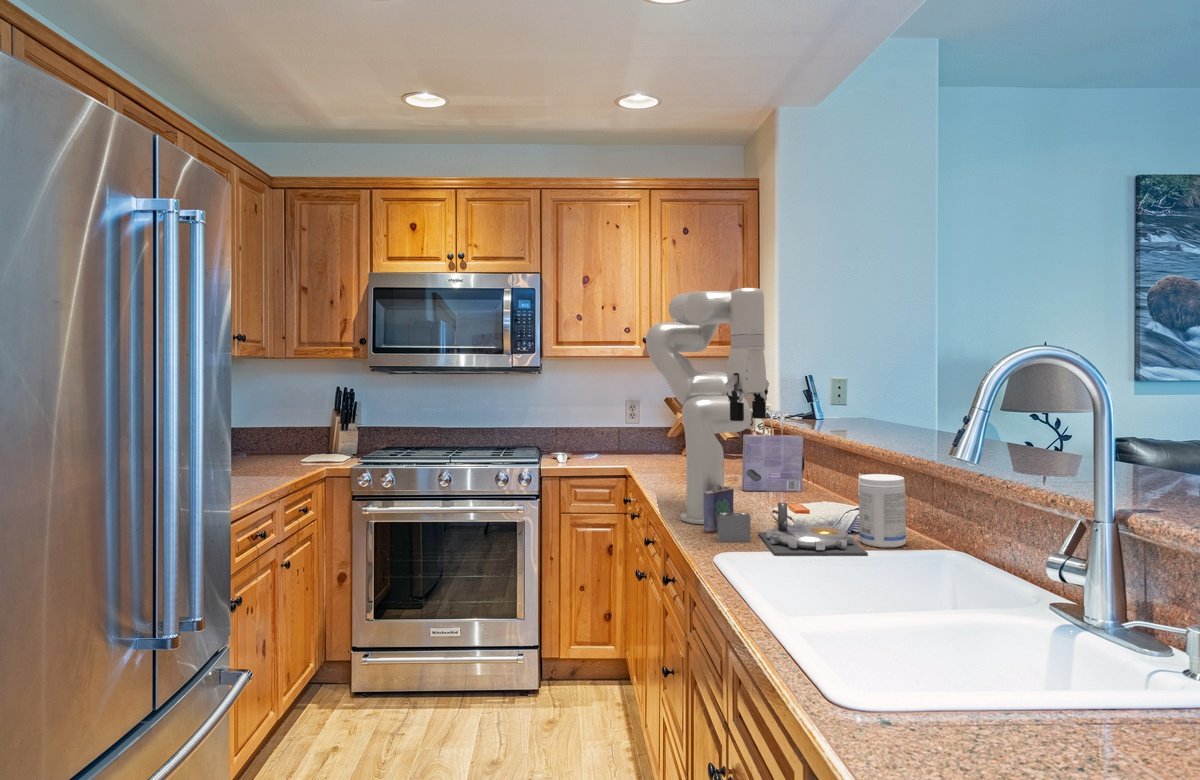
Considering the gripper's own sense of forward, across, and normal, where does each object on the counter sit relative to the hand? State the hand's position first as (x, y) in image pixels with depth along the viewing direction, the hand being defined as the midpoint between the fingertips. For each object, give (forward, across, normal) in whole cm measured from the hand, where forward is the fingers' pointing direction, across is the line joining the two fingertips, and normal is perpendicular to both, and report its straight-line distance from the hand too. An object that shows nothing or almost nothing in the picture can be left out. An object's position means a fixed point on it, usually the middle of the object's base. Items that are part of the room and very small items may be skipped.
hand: (748, 419), depth 165 cm
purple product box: (+27, -62, -27) cm, 73 cm away
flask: (+27, -4, -11) cm, 30 cm away
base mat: (+27, -4, +12) cm, 30 cm away
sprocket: (+26, -4, +13) cm, 29 cm away
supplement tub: (+28, -15, +24) cm, 40 cm away
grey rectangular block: (+27, +3, -2) cm, 27 cm away
